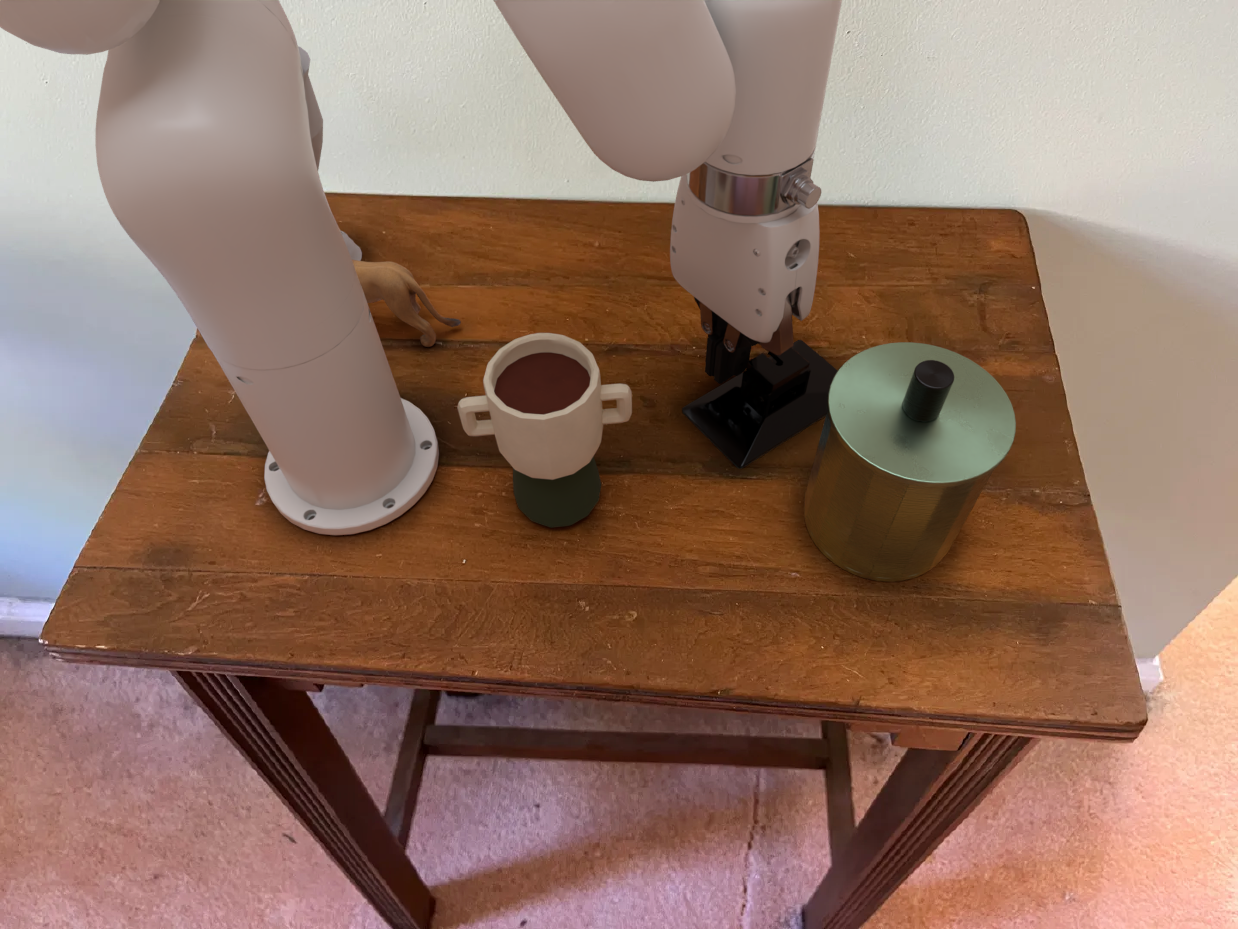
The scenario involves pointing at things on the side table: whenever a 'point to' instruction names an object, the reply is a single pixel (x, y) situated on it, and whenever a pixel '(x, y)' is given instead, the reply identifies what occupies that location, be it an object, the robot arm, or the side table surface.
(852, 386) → the pot lid
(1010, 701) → the side table surface
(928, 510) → the pot
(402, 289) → the lion figurine
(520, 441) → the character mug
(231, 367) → the robot arm
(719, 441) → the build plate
